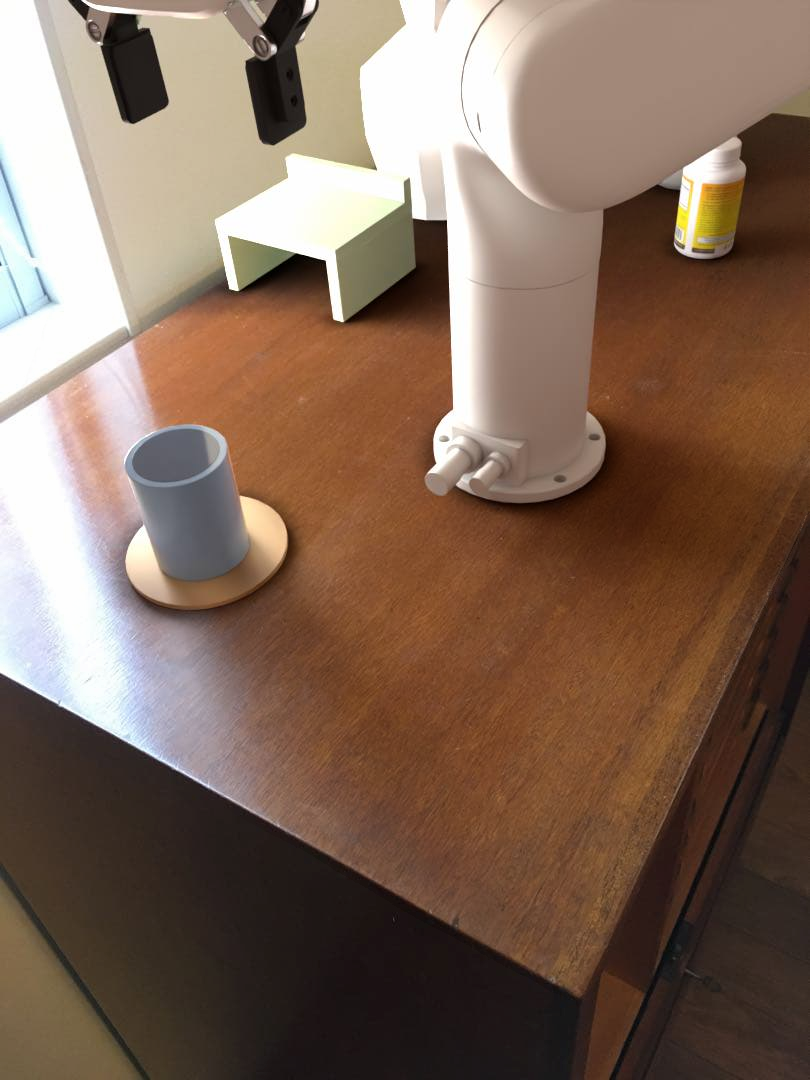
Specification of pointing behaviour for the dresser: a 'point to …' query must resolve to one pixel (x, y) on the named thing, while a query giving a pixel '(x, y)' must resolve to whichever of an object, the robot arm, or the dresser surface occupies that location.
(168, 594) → the coaster
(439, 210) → the vase
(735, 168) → the supplement bottle
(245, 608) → the dresser surface
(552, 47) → the robot arm
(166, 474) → the cup
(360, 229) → the shelf
